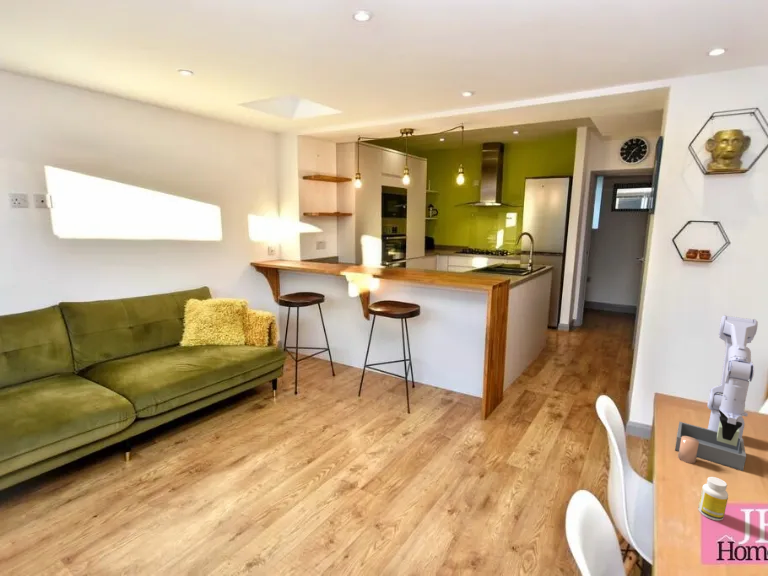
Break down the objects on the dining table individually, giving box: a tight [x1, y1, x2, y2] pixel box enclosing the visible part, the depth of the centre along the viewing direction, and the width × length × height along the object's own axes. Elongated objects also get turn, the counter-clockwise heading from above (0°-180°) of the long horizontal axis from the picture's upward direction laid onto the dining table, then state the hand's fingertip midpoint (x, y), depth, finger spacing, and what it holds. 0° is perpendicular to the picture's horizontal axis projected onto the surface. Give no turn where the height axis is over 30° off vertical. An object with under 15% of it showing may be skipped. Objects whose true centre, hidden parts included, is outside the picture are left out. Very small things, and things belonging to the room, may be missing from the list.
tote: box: [674, 420, 747, 472], centre depth 139 cm, size 18×14×5 cm
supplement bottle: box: [698, 476, 729, 521], centre depth 109 cm, size 5×5×10 cm
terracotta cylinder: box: [677, 436, 699, 465], centre depth 134 cm, size 5×5×7 cm
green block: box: [717, 422, 739, 446], centre depth 135 cm, size 5×5×5 cm
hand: (726, 435), depth 136 cm, fingers closed on green block, 5 cm apart
